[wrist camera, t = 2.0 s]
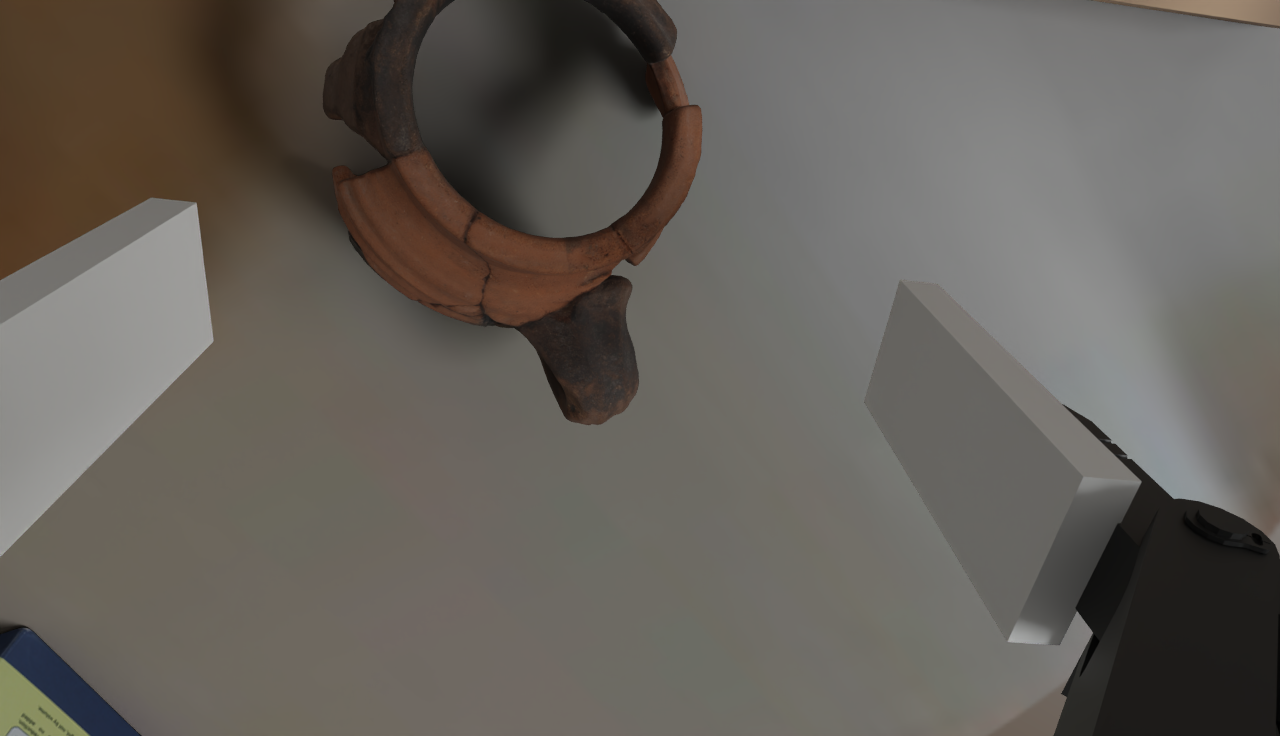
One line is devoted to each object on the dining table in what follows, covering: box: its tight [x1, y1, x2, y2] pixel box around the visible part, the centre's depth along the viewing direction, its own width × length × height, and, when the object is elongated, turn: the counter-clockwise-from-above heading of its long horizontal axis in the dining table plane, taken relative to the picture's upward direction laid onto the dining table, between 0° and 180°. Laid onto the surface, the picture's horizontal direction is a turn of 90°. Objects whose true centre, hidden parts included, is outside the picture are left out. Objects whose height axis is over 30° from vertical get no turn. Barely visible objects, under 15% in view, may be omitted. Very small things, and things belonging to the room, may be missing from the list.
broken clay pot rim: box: [323, 0, 702, 425], centre depth 21 cm, size 12×10×8 cm
